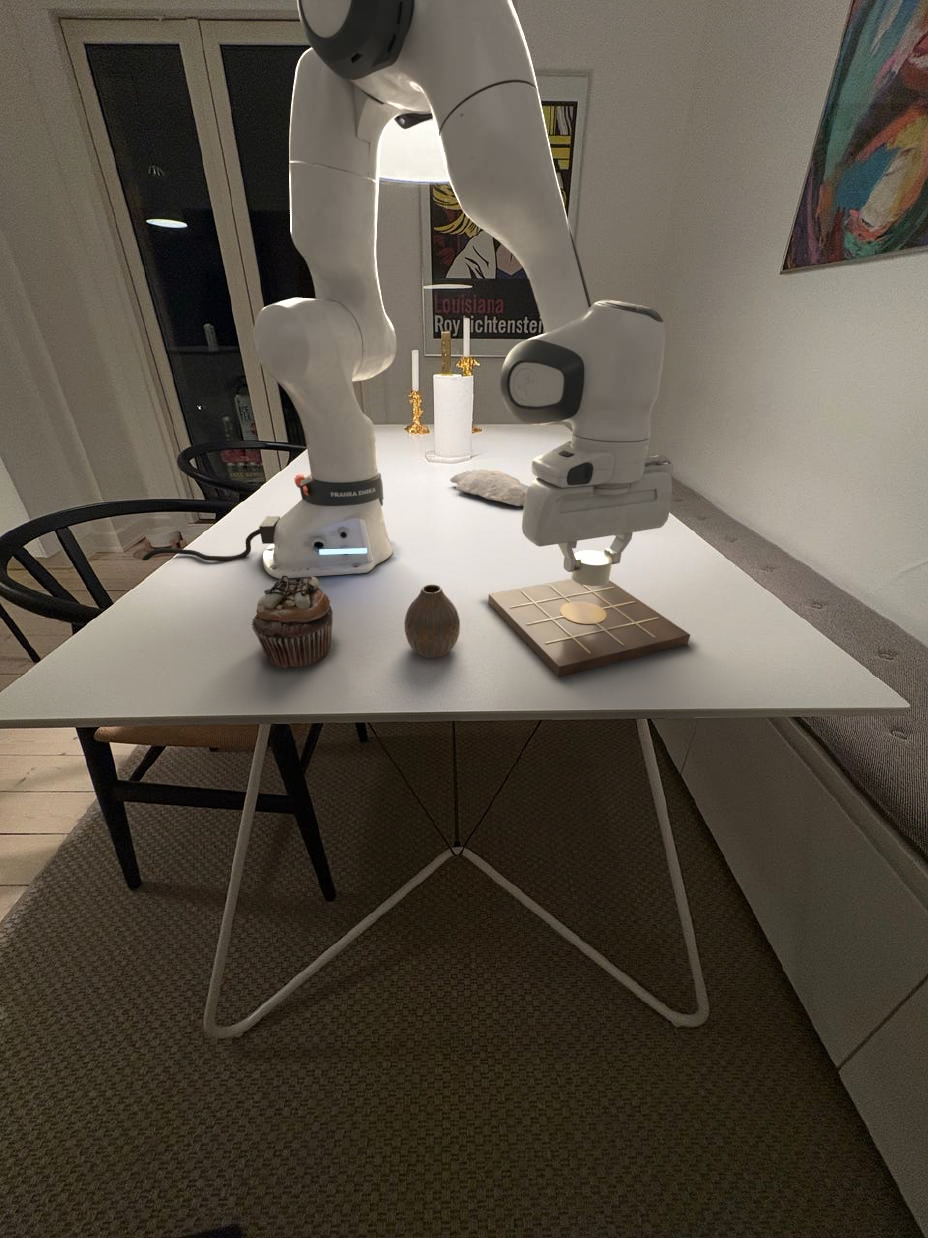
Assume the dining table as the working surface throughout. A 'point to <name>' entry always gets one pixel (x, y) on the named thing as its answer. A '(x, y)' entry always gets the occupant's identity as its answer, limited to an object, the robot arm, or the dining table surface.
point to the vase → (432, 623)
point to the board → (585, 624)
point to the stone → (492, 486)
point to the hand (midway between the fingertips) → (591, 566)
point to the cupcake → (294, 622)
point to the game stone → (593, 568)
